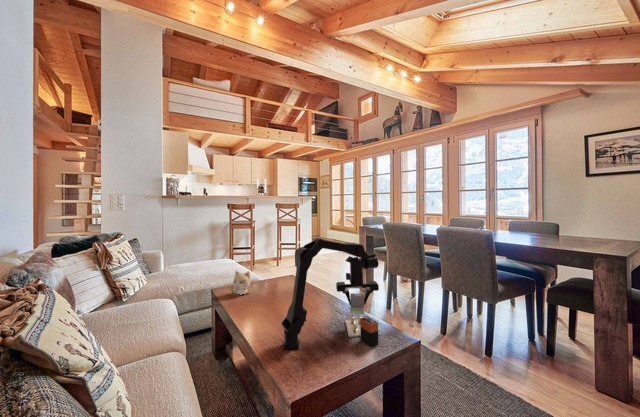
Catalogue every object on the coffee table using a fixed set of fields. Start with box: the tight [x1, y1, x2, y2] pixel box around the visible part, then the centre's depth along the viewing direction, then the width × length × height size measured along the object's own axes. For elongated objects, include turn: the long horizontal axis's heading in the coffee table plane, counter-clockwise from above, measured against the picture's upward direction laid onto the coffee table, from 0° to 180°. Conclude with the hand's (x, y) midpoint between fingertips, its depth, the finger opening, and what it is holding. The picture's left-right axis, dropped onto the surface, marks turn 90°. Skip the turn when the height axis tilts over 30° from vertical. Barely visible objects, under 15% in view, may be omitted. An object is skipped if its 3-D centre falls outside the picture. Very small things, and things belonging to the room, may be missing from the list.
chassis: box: [345, 316, 363, 338], centre depth 122 cm, size 14×10×4 cm
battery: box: [360, 315, 379, 347], centre depth 110 cm, size 4×7×10 cm, turn 28°
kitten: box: [230, 270, 256, 296], centre depth 172 cm, size 15×10×15 cm
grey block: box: [349, 292, 365, 315], centre depth 121 cm, size 12×6×6 cm, turn 171°
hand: (357, 304), depth 122 cm, fingers closed on grey block, 6 cm apart
